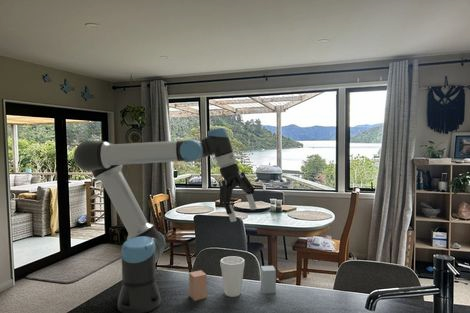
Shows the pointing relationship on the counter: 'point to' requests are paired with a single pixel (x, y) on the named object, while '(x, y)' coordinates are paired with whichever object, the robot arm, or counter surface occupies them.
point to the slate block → (268, 279)
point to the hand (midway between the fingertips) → (244, 215)
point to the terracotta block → (197, 285)
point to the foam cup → (232, 274)
